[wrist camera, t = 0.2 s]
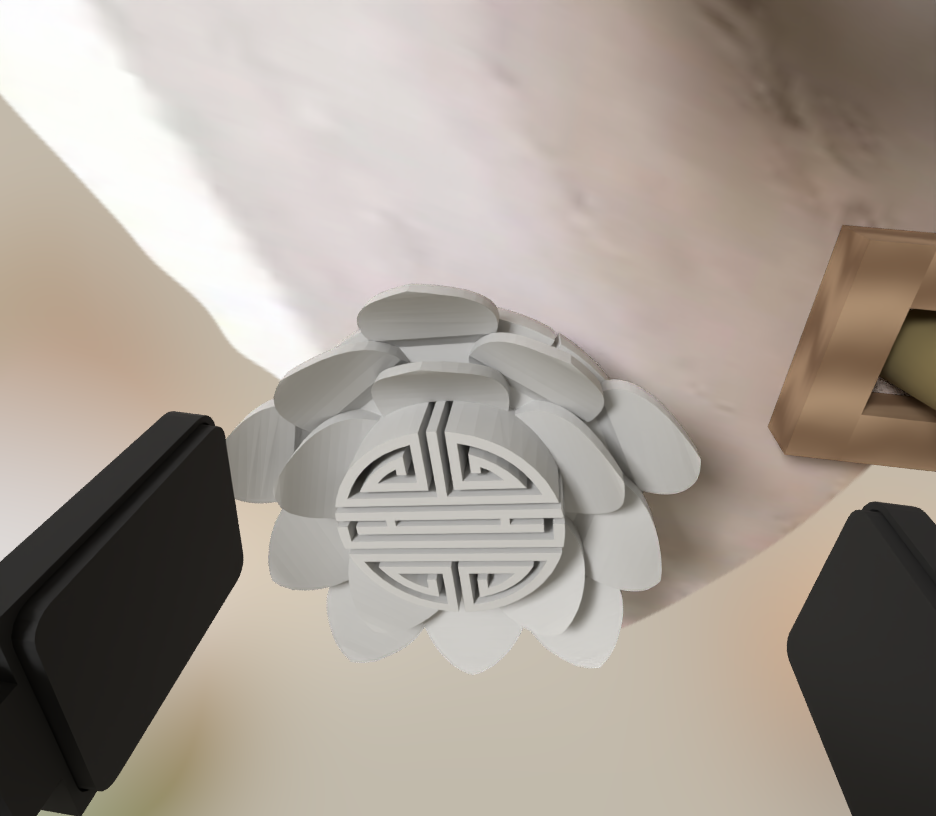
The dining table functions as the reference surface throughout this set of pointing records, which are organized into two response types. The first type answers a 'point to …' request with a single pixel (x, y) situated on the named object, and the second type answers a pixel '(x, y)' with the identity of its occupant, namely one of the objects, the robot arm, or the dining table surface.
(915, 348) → the cork
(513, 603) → the decorative bowl
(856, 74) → the dining table surface
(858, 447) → the walnut holder
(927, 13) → the dining table surface
